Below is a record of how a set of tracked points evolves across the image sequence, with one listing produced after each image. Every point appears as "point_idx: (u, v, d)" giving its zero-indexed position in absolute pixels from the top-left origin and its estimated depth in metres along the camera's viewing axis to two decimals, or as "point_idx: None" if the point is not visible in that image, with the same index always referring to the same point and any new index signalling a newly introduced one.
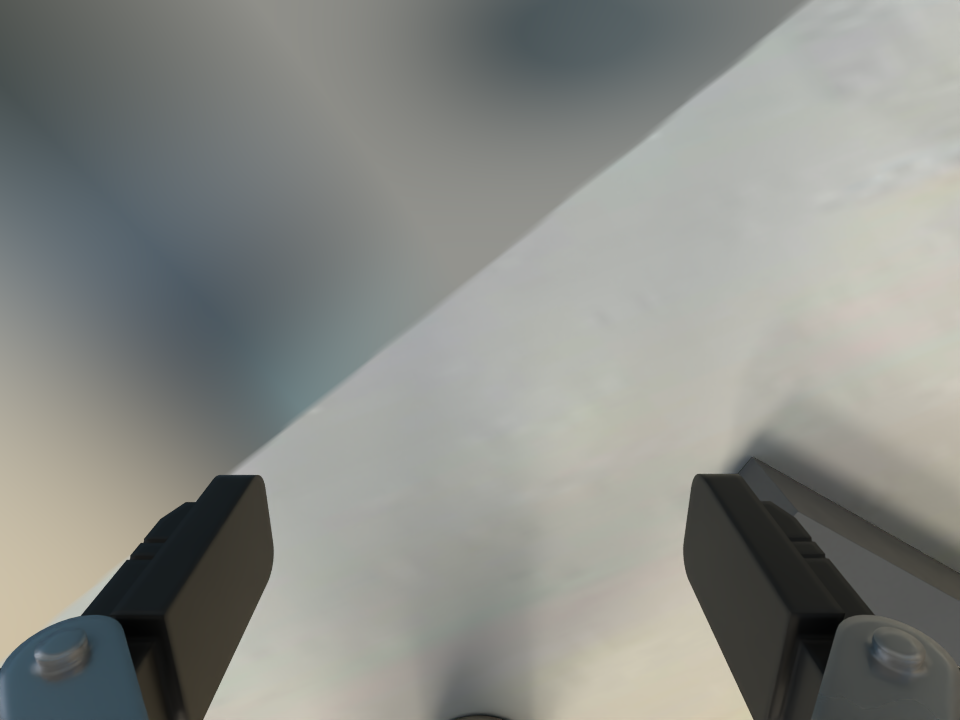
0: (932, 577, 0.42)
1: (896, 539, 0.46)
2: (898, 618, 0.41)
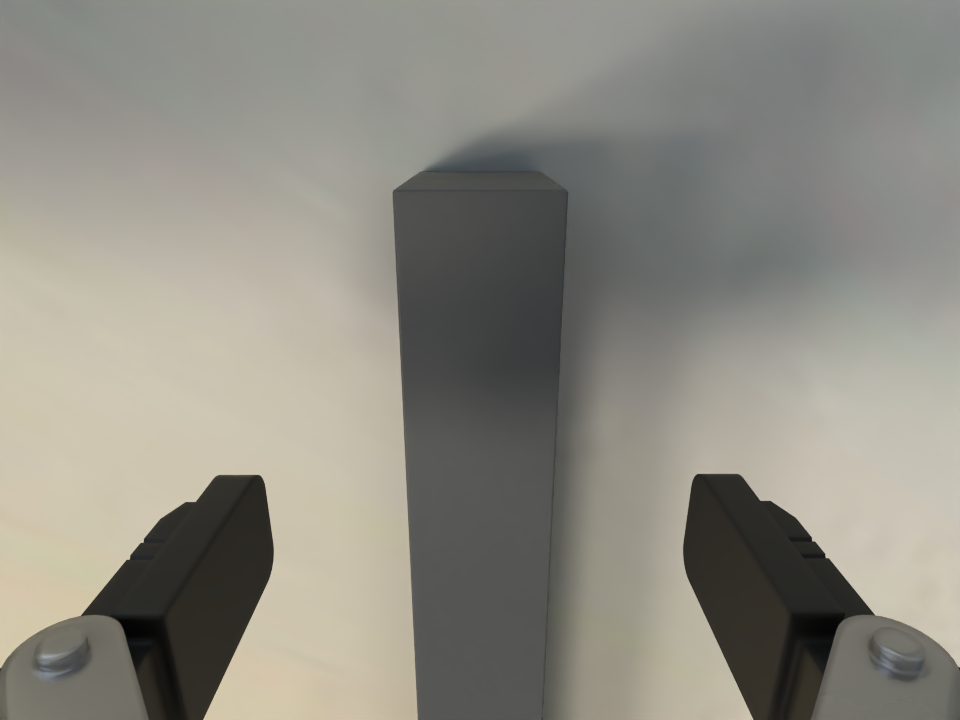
0: None
1: None
2: (445, 577, 0.18)
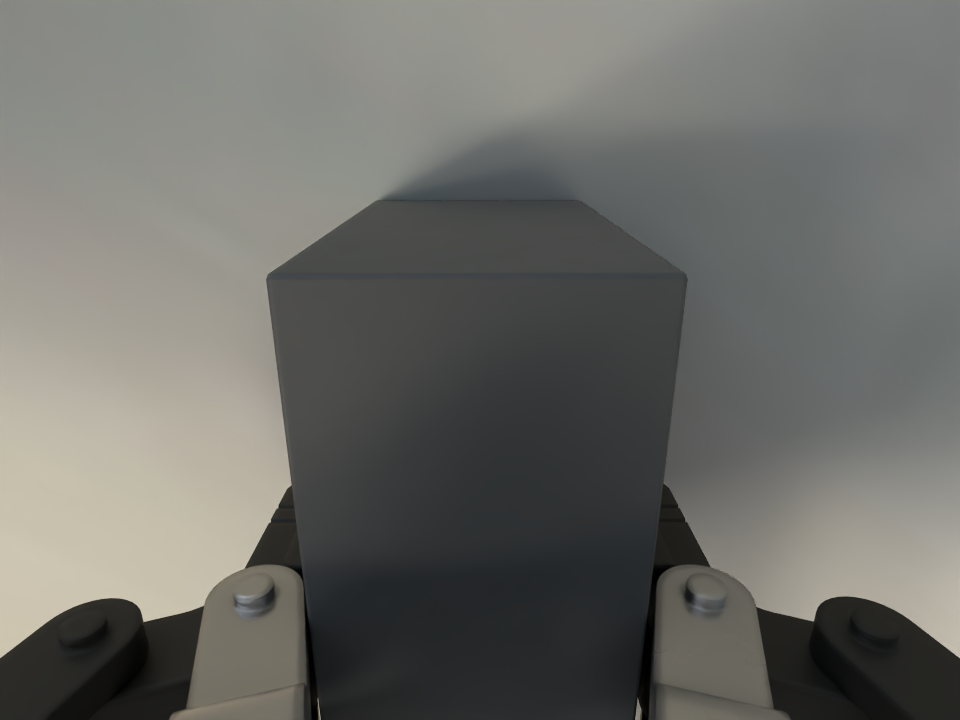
0: None
1: None
2: None
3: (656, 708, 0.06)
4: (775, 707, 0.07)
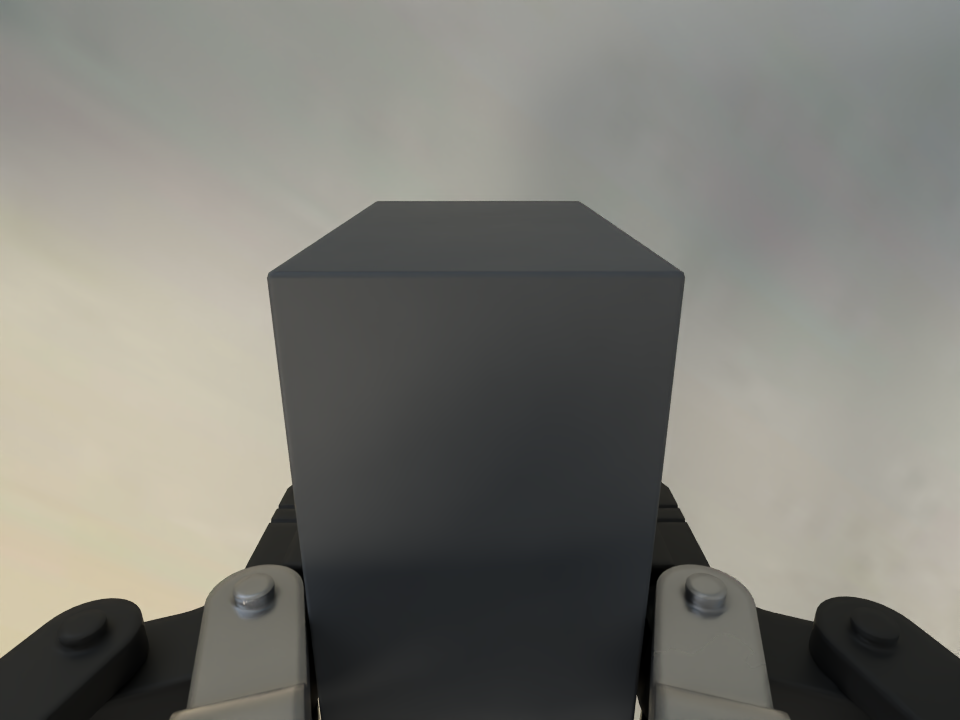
0: None
1: None
2: None
3: (656, 708, 0.06)
4: (775, 706, 0.07)
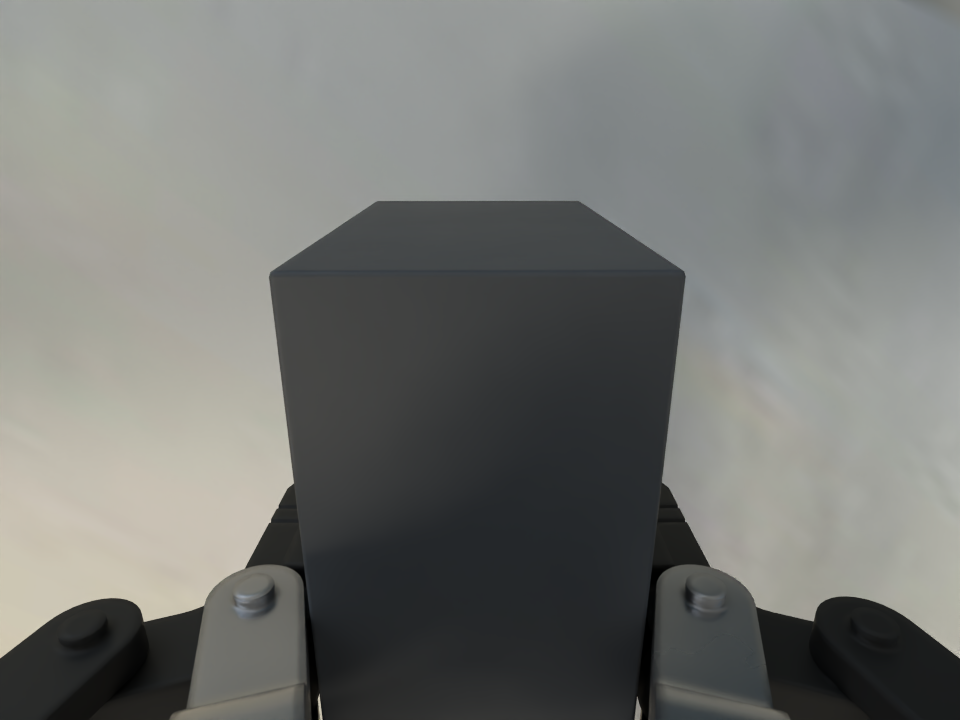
0: None
1: None
2: None
3: (656, 708, 0.06)
4: (775, 707, 0.07)
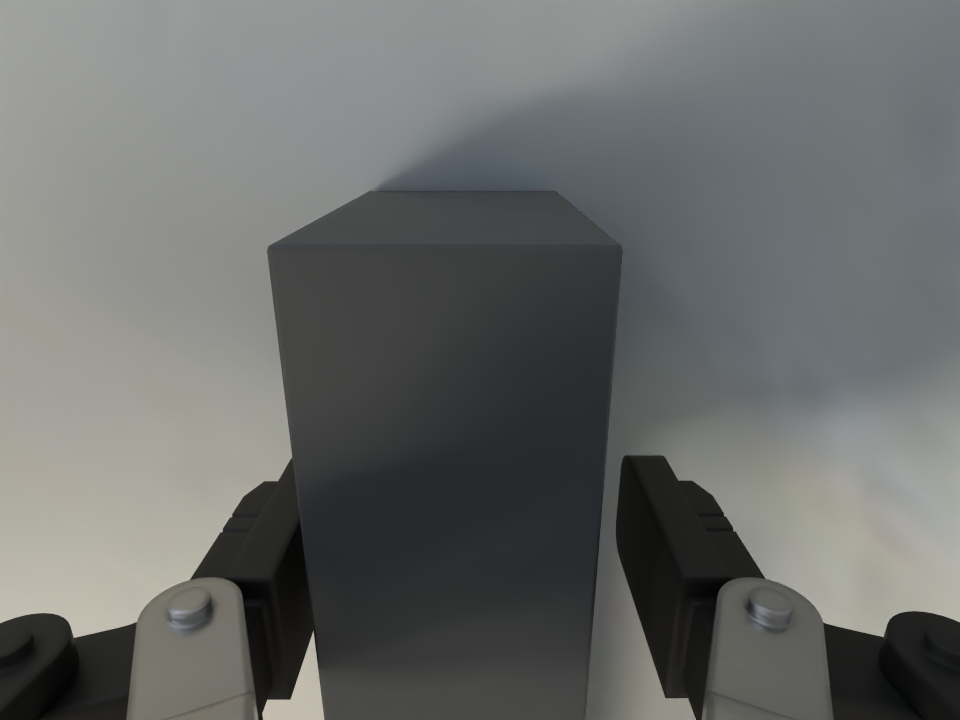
0: None
1: None
2: None
3: (707, 716, 0.06)
4: None
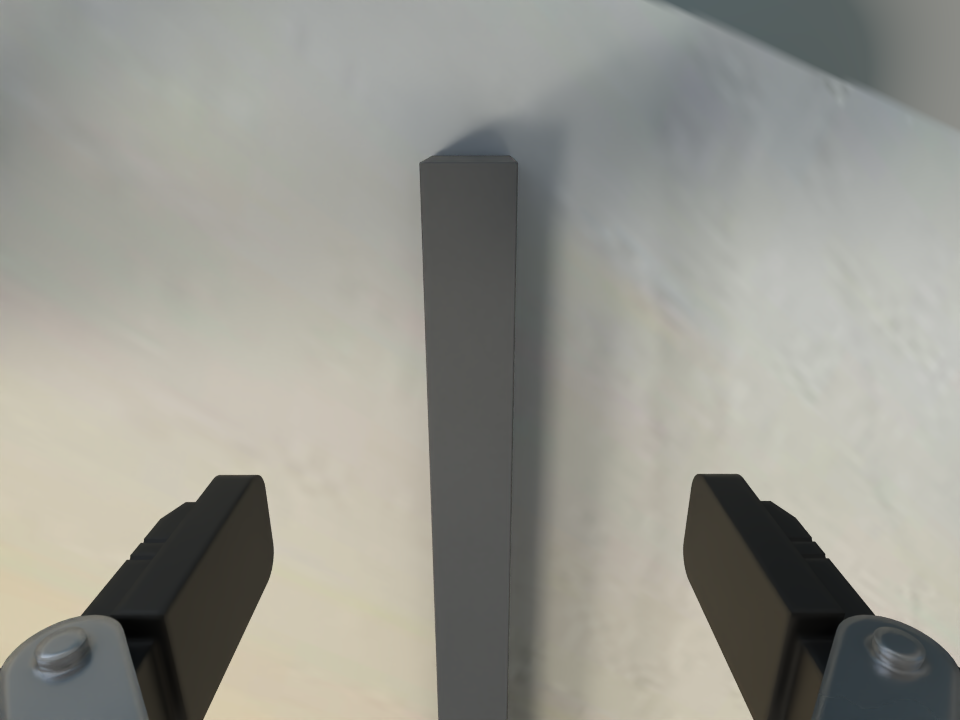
0: None
1: None
2: (448, 405, 0.30)
3: None
4: None
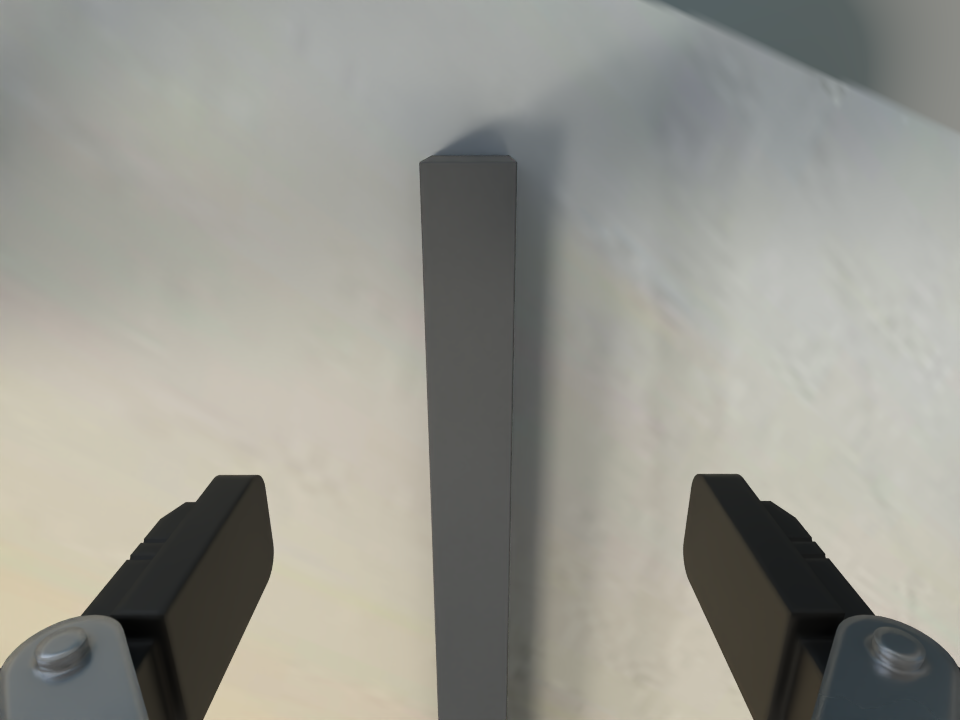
0: None
1: None
2: (448, 403, 0.30)
3: None
4: None
